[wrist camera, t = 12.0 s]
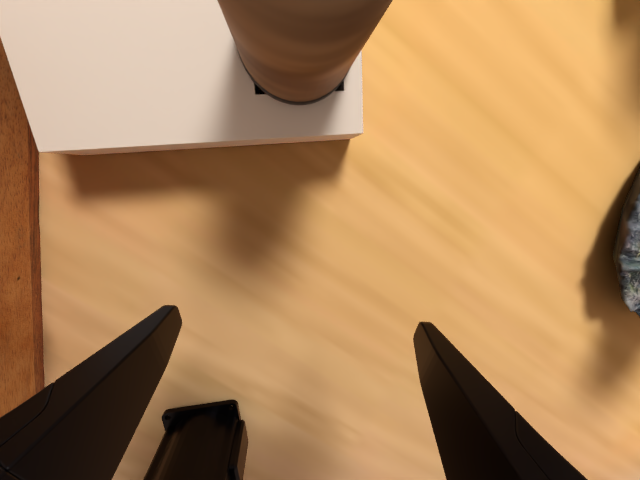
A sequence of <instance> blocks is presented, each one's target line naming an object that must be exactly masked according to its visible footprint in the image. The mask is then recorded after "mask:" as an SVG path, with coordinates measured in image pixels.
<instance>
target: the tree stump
mask: <svg viewBox="0 0 640 480" xmlns="http://www.w3.org/2000/svg"><path fill="white" fill-rule="evenodd" d="M613 259H614V263H615V266H616V271H617V276H618V281H619V286H620V292H621V297H622V299H623V301H624V303H625V304H626V305H627V307H628V308H629V310H630V312H632V311H634V312H636V313H637V314H638V315H639V317H640V168H639V170H638V173H637V175H636V177H635V180H634V182H633V184H632V186H631V189H630V191H629V193H628V195H627V198H626V200H625V202H624V204H623V207H622V211H621V216H620V221H619V226H618V231H617V235H616V240H615V245H614V250H613Z"/></svg>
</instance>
